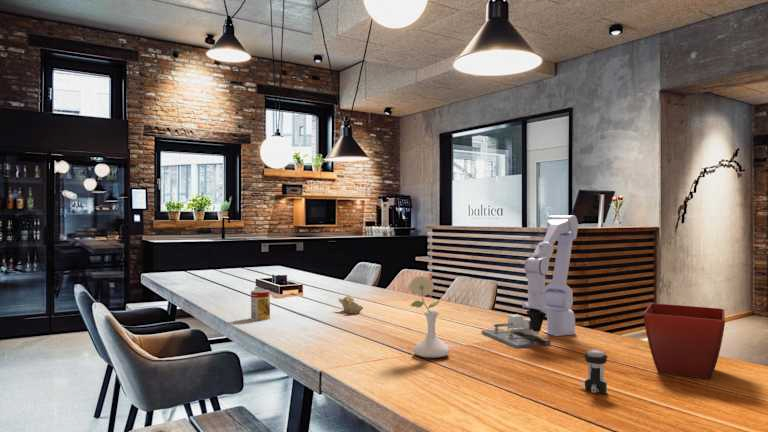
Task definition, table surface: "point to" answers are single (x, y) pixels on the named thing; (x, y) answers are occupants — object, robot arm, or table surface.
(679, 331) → the plant pot
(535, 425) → the table surface
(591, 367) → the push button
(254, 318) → the canned food
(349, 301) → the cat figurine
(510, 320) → the fixed divider leg
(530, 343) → the bolt hole plate
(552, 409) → the table surface
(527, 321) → the sliding divider leg
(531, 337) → the bar
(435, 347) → the flower in vase
